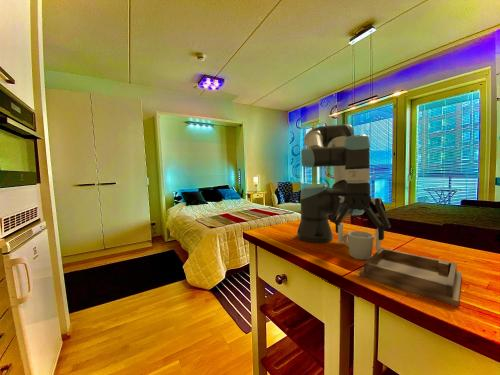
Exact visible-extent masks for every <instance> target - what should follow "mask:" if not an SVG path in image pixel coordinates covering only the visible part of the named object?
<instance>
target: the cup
mask: <svg viewBox="0 0 500 375" xmlns="http://www.w3.org/2000/svg"><path fill="white" fill-rule="evenodd" d="M374 239H375V235H374V234H373V233H371V232H367V231H361V230H352V231H351V230H350V231H348V232H347V233H345V234H343V244H344V245H345V246H346V247H348V250H349V254H350V256H351V257H352V258H353V259H356V260H361V261H362V260H363V261H367V260H368V259H369V258H371V257H372V256H373V249H374V248H373V247H374Z"/></svg>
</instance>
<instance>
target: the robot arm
mask: <svg viewBox="0 0 500 375" xmlns="http://www.w3.org/2000/svg"><path fill="white" fill-rule="evenodd" d="M303 138H304V139H303V141H304V142H303V143H304V145H305V148H302V149H301V152H300V153H301V154H300V156H301V158H300V159H301V166H302V167H303V168H319V167H321V168H323V167H332V168H333V177H334V182H333V184H332V186H331V187H329V185H328V184H316V185H309V186H306V187H303V188H301V189H300V198H299V200H300V222H299V224H298V228H297V232H296V237H297V239H298V240H300V241H302V242H306V243H307V242H308V243H314V244H315V243H318V244H319V243H328V242H331V241H332V240H334V239H333V232H332V228H331V225H330V223H333V224H335V226H334V227H335V233H336V234H337V237H338V238H337V240H338V242H337V243H338V244H342V243H344V239H343V238H344V224H343V223H342V221H343V220H344V219H345V218H346V217H347V216H360V215H363V214H364V213H366V214H367V216H368V217H369V219H370V220H371V221H372V223H373V224H374V225H375V227H376V228H377V229H375V235H374V238H375V251H376V252H377V251H379V250H380V249H381V248H382V245H381V243H382V241H383V240H384V239H385V230H389V229H390V228H392V225H391V223H390V221H389V218H388V215H387V213H386V211H385V209H384V206H383V204H382V202H383V201H382V200H383V199H382V198H381V197H372V196H371V183H370V182H369V181H370V180H371V173H370V172H371V169H370V166H371V164H370V160H371V158H370V147H371V144H370V137H369V136H368V135H367V134H357V135H356V134H355V130H354V127H353V126H352V124H347V123H342V124H335V125H321V126H320V125H319V126H317V127H314V128H313V129H312V128H311V129H310V130H309V131H308V132H307V133H306V134H305V135H304V137H303ZM370 203H372V204H373V205H374V206H375V209H376V211H377V213H378V215H376V213H375V212H374V211H373V209H372V207H371V206H370ZM330 215H331V216H330ZM329 216H330V219H329ZM378 216H379V217H380V219H379V217H378ZM329 222H330V223H329Z"/></svg>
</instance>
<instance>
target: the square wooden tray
mask: <svg viewBox="0 0 500 375" xmlns="http://www.w3.org/2000/svg"><path fill="white" fill-rule="evenodd" d="M457 268H458V267H457V263H456V262H452V261H447V260H442V259H437V258H434V257H433V258H432V257H428V256H422V255H417V254H412V253H410V252H409V253H408V252H403V251H398V250H393V249H388V248H382V247H381V249H380V250H379V251H377V250H376V252H375V253H374V254H372V255H371V258H369V259H367V260H365V262H364V263H363V268H361V269H360V270H359V272H358V276H359V277H362V278H365V279H367V280H371V281H375V282H377V283H380V284H384V285H387V286H390V287H393V288H395V289H396V288H397V289H399V290H403V291H406V292H409V293H413V294H415V295H416V294H417V295H420V296H422V297H425V298H428V299H432V300H435V301H439V302H442V303H445V304H448V305H452V306H456V307H458V308H459V304H460V303H459V302H460V294H461V286H462V275H463V274H462V271H459V270H458V271H457Z"/></svg>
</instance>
